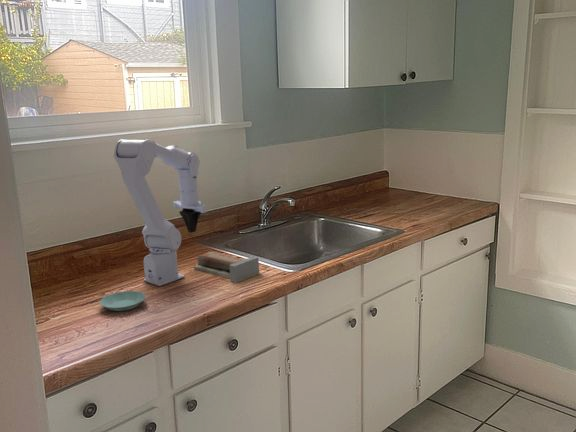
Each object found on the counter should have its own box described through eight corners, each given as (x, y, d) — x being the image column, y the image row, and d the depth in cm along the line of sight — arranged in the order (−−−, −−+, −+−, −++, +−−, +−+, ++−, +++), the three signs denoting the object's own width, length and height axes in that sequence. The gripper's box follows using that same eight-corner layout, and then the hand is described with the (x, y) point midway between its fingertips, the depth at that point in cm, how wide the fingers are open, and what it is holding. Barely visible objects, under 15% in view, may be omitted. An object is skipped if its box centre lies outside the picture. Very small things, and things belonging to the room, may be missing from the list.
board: (235, 282, 170) (234, 266, 169) (230, 281, 171) (229, 265, 170) (259, 273, 177) (258, 257, 176) (254, 271, 178) (253, 256, 177)
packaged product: (191, 255, 182) (215, 247, 190) (193, 270, 183) (216, 262, 191) (233, 266, 171) (256, 257, 178) (234, 281, 172) (256, 272, 180)
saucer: (94, 315, 150) (93, 307, 150) (109, 298, 162) (108, 290, 161) (139, 315, 150) (138, 307, 149) (151, 298, 161) (150, 290, 161)
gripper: (213, 190, 182) (216, 232, 185) (184, 185, 191) (187, 225, 195) (195, 194, 177) (199, 237, 180) (166, 189, 186) (170, 230, 190)
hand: (192, 231), depth 187 cm, fingers closed
